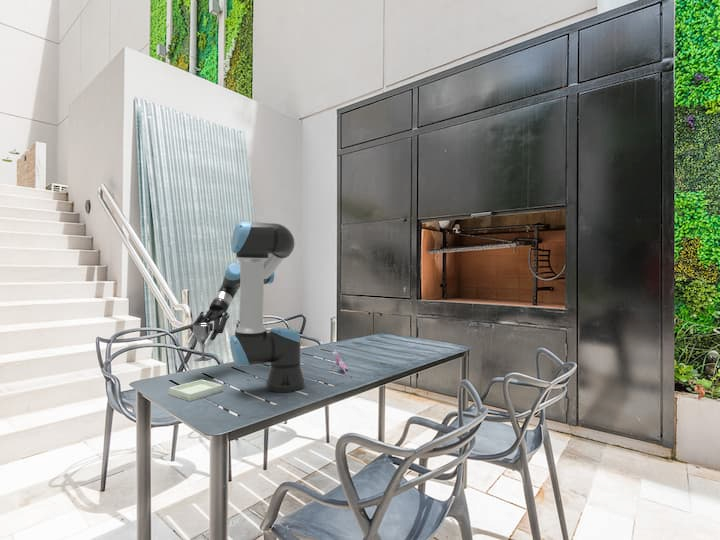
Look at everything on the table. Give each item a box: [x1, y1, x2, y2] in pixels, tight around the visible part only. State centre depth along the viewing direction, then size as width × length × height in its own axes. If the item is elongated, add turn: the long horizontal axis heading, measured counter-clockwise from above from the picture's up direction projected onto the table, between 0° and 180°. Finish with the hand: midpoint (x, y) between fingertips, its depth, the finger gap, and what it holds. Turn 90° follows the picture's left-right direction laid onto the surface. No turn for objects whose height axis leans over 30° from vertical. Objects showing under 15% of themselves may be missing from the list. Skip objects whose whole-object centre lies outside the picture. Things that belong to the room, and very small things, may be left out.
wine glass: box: [192, 322, 214, 362], centre depth 166 cm, size 8×8×15 cm
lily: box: [329, 348, 349, 374], centre depth 179 cm, size 12×12×10 cm
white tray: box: [168, 379, 224, 402], centre depth 148 cm, size 14×14×2 cm
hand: (197, 345), depth 162 cm, fingers closed on wine glass, 8 cm apart
